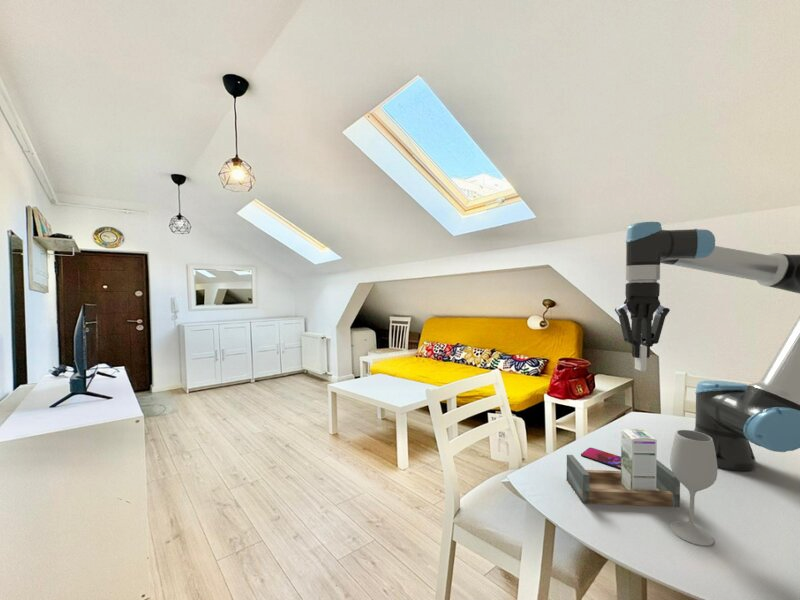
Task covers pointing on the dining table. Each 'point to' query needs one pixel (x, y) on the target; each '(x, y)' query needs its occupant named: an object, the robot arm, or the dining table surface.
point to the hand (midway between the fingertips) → (640, 369)
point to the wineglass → (693, 478)
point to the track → (621, 486)
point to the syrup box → (638, 460)
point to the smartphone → (602, 457)
